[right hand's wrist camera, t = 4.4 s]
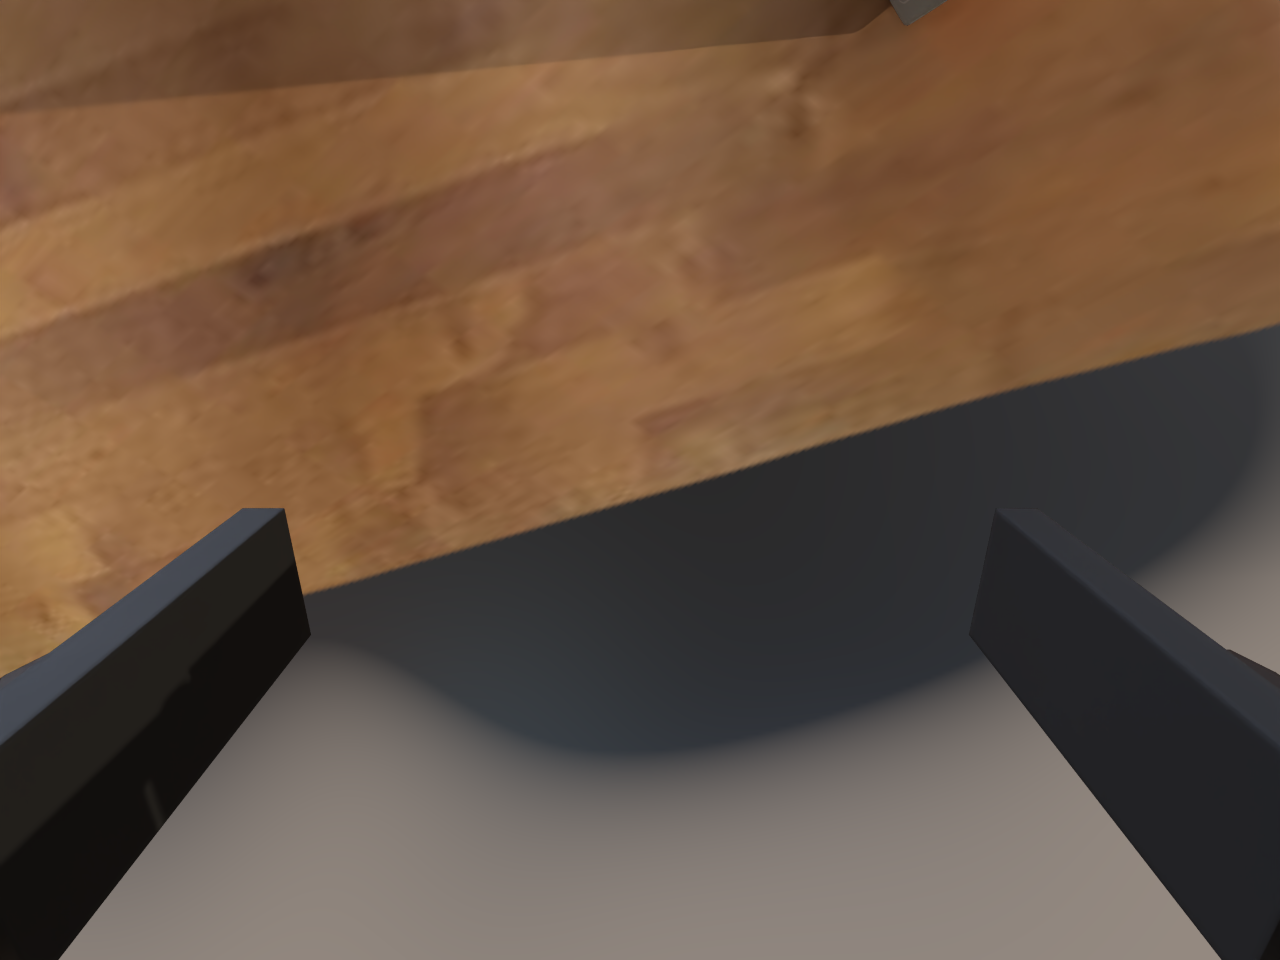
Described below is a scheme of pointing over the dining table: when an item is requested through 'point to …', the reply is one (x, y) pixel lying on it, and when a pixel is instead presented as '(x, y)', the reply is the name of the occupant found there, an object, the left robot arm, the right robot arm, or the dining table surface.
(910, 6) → the hard drive box
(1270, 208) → the dining table surface
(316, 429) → the dining table surface
